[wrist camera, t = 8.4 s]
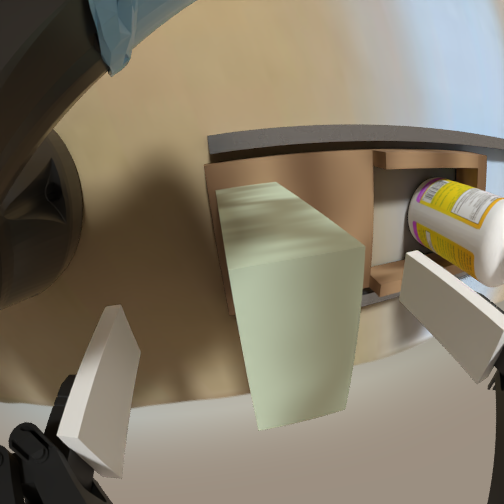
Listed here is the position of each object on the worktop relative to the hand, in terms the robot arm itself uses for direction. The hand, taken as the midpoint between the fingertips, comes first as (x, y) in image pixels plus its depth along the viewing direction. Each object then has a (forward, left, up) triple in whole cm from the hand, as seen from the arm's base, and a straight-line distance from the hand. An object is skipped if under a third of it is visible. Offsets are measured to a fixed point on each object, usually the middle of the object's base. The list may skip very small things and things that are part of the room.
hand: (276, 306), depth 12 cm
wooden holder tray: (+7, +7, -10) cm, 14 cm away
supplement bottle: (+13, +12, -10) cm, 20 cm away
